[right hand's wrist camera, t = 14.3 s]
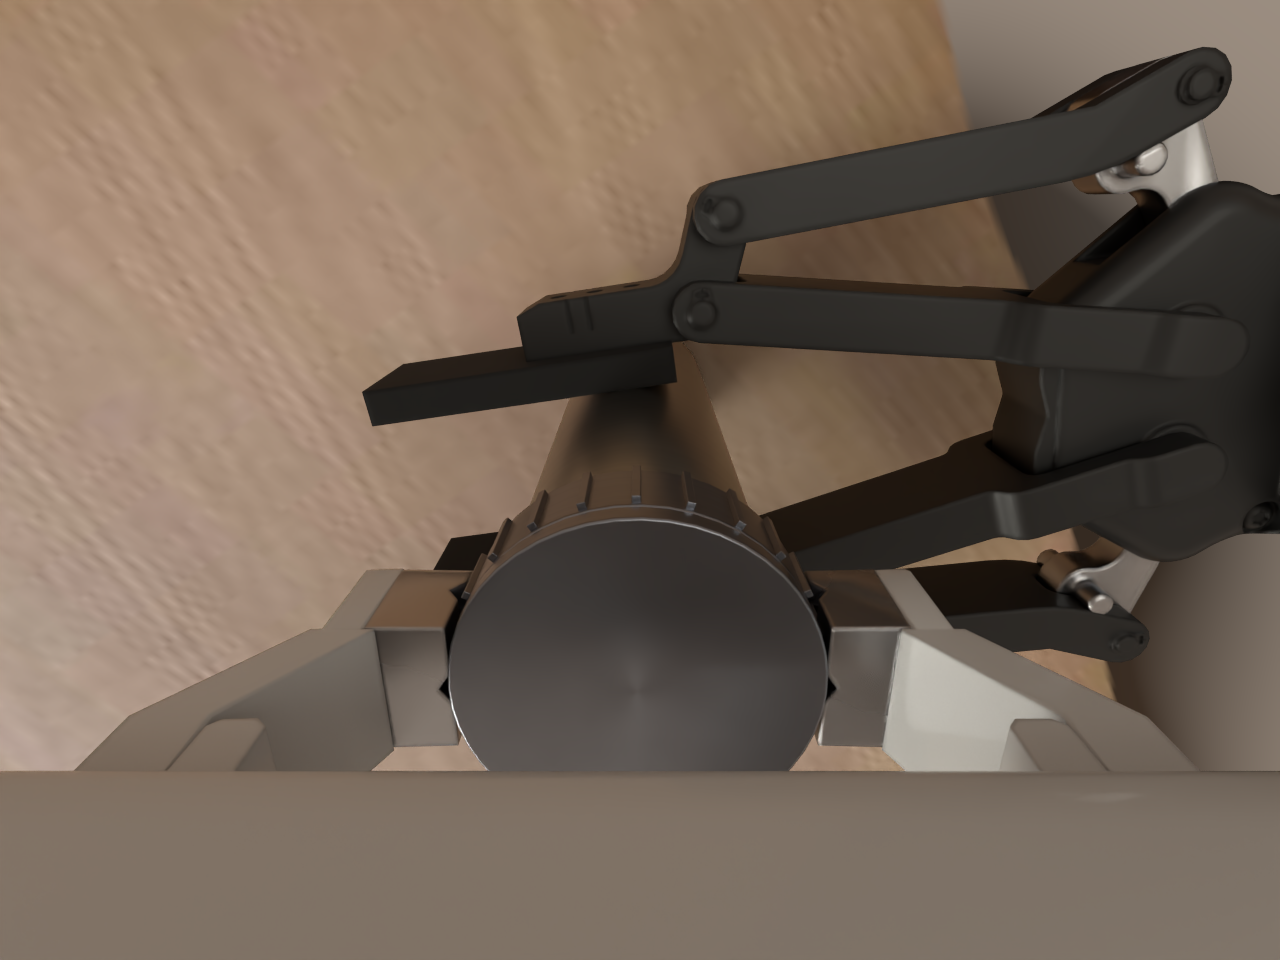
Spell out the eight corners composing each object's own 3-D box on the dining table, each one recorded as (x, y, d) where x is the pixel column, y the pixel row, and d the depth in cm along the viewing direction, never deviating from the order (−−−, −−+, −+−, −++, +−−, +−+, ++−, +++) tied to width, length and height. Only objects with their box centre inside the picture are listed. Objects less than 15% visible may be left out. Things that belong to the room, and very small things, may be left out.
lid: (661, 802, 11) (665, 890, 10) (404, 643, 10) (365, 715, 9) (877, 599, 10) (918, 667, 8) (608, 389, 9) (600, 426, 7)
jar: (560, 420, 23) (446, 722, 10) (605, 306, 22) (545, 470, 8) (671, 464, 24) (712, 809, 10) (722, 355, 22) (846, 585, 9)
